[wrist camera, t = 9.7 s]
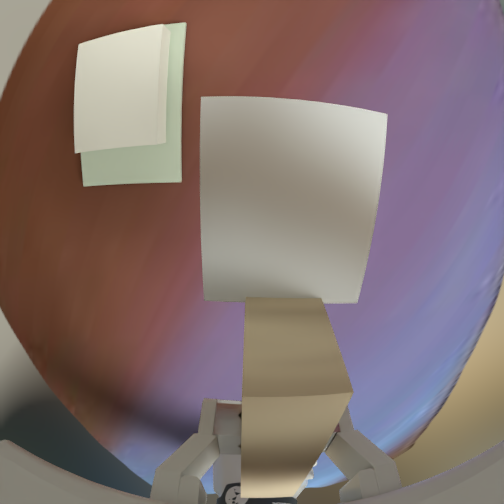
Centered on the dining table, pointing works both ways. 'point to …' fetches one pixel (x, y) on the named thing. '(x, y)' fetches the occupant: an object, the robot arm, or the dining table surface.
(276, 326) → the turner
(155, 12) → the dining table surface
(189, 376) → the dining table surface
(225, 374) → the dining table surface
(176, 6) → the dining table surface
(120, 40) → the tile
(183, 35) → the mat
